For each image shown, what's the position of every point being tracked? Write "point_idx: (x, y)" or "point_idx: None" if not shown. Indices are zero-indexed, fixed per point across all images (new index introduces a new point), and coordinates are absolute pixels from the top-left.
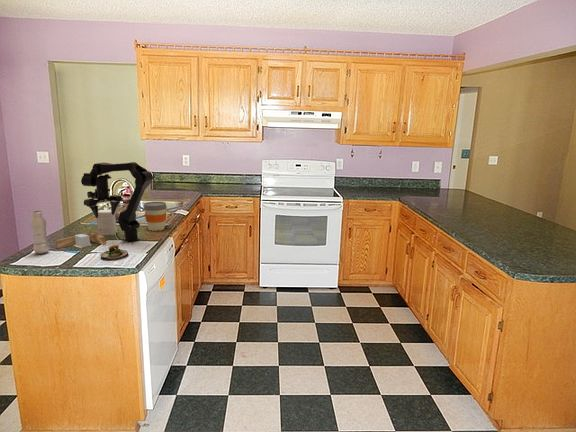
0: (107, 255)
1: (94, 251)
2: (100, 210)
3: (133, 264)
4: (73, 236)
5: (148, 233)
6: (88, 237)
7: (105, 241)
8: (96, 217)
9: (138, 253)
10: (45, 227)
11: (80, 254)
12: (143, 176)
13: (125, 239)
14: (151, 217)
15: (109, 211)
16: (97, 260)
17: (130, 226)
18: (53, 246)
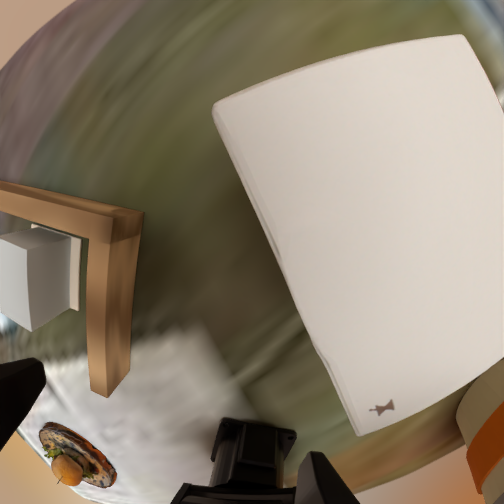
0: (61, 440)
1: (50, 377)
2: (443, 62)
3: (88, 495)
4: (13, 201)
5: (407, 430)
6: (34, 325)
7: (122, 379)
8: (31, 377)
9: (141, 498)
10: None
11: (12, 346)
12: None
13: (235, 430)
14: (477, 473)
15: (428, 363)
16: (33, 423)
17: (275, 497)
18: (6, 141)
